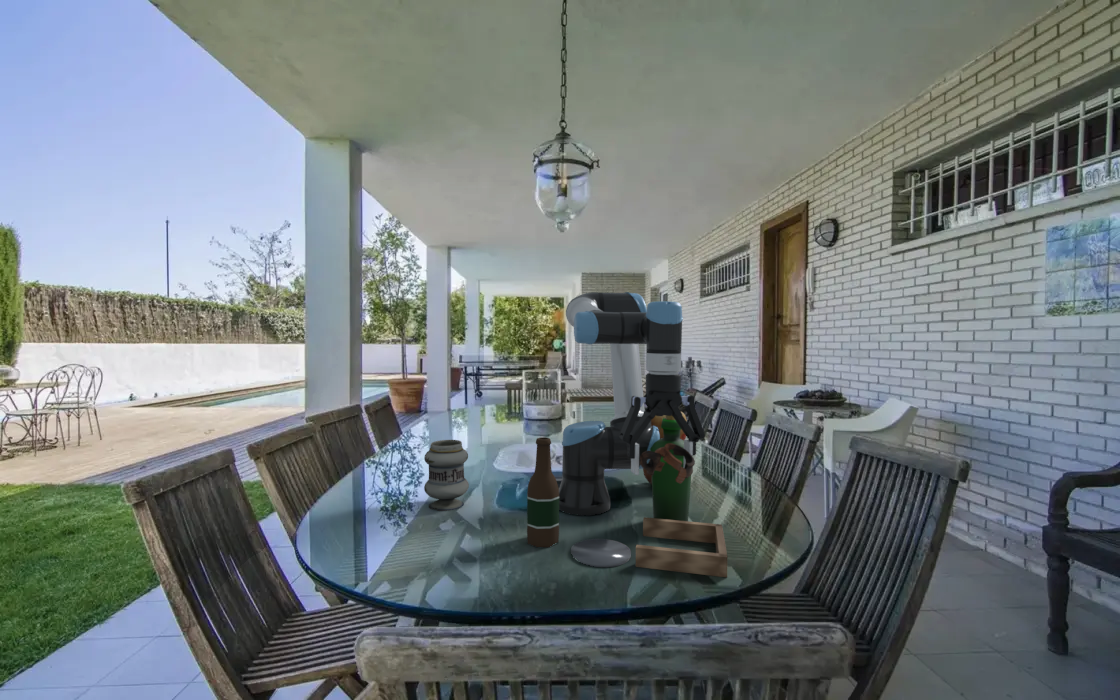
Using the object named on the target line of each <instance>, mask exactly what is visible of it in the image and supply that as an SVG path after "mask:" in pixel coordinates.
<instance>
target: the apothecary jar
mask: <svg viewBox="0 0 1120 700" xmlns="http://www.w3.org/2000/svg"><path fill="white" fill-rule="evenodd" d="M429 447H430V448H429V450H428V451H427V452H426V453H425V454H424V460H423V461H425V463H426V464H427V465H428V480H427V481H425V484H424V488H423V490H424V492H425V494H426V495H427V496H428V497H430V498H432V499H435V501H432V502H430V504H428V508H429V509H430V510H435V511H437V512H451V511H455V510H459V509H461V508H463V506H464V505H465V502H463V501H462V500H459V499H457V498H459V497H462V496H463V495H465V494H466V493H467V492H468V490H469V488H470V484H469V481H468V480H467V478H465V466H464V465H465V463H466V462H467V460H468V458H469V454H468V451H467V450H465V449H464V448H463V447H464V446H463V442H462V441H461V440H457V439H442V440H437V441H435V440H434V441H432V442H431V443H430V445H429Z"/></svg>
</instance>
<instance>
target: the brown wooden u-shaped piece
mask: <svg viewBox="0 0 1120 700" xmlns="http://www.w3.org/2000/svg"><path fill="white" fill-rule="evenodd" d="M642 521H643V522H642V536H643V537H649V538H658V539H670V540H678V541H688V542H699V543H705V544H706V543H708V544H715V552H708V551H699V550H690V549H682V548H679V549H678V548H672V547H663V546H662V547H661V546H653V545H644V544H636V546H635V567H636V568H643V569H652V570H660V571H661V570H662V571H670V572H677V573H688V574H694V575H695V574H696V575H703V576H704V575H705V576H712V577H720V578H728V554H727V553H728V552H727V545H726V540H725V533H724V529H723V524H722V523H721V524H719V523H710V522H701V521H700V522H697V521H689V520H688V521H679V520H668V519H657V518H653V517H645V516H644V517H643V519H642Z"/></svg>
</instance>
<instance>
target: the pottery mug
mask: <svg viewBox="0 0 1120 700" xmlns="http://www.w3.org/2000/svg"><path fill="white" fill-rule="evenodd" d="M671 449H672V450H673V451H674V453H673V454H674V455H679V456H684V457H685V460H686V464H685V467H684V468H683V467H681V465H682V461H680V460H678V459H677V458H675V457H674V456H673V455H672V454H671V452H670V451H669V450H671ZM661 456H663V457H664V458H663V460H664V461H666V462H667V463H668V464H669V465H671V466H672V467H673V468H675V469H676V470H678V471H679V472H678V476H677V477H676V479H675V480H676V482H678V483H682V482H683V481H684V480H685V478H688V477H690V476H691V477H692V475H693V472H694V468H693V467H694V466H695V464H696V463H695V462H696V461H695V458H694V456H693V457H692V455H691V454H690V453H689V452H688V451H687V450H685V449H684V448H682V447H680V446H678V445H676V444H672V443H668V444H666V445H665V447H662V448H659V449H657V450H656V451H655V452H653V451H645V452H643V453H642V455H641V456H640V464H641V466H642V467H643V469H645V470H647V473H646V474H647V475H654V471H655V470H656V471H660V472H661V470H662V467H663V466H664V464H665V463H663V462H660V460H661ZM648 459H650V460H649V463H648V464H647V460H648ZM643 469H642V470H643Z"/></svg>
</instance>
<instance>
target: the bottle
mask: <svg viewBox="0 0 1120 700" xmlns="http://www.w3.org/2000/svg"><path fill="white" fill-rule="evenodd" d="M661 428H663V435H664V438H661V439H659V440H658V441H656V442H655V443H654V444H653V445H652V447H651V448H650V451H653V452H655V451H656V450H657V449H659V448H662V447H665V445H666V444H668V443H672V444H676V445H678V446H680V447H682V448H684V440H682V439H680V430H681V428H680V426H679V425H678V423H677V422H676V420H675V419H674V417H673V416H672V415H671V416H666V418H663V419H662V424H661ZM669 451H670V452H671V454H672V455H673V456H674V457H675V458H677V459H678V460H680V461H682V465H681V467H683V468H684V456H679V455H674V454H673V453H674V451H673V450H672V449H671V450H669ZM663 458H664V457H663V456H661V460H660V462H663V463H665V464H664V466H663V467H662V470H661V472H660V471H656V470H655V471H654V475H652V485H651V489H652V490H651V492H652V514H653V517H652V518H657V519H668V520H679V521H689V513H690V512H689V511H690V499H691V498H690V497H691V487H692V485H691V484H692V475H691V476H690V477H688V478H685V480H684V481H683V482H682V483H678V482H676V480H675V479H676V477H677V476H678V472H679V471H678V470H676V469H675V468H673V467H672V466H671V465H669V464H668V463H667V462H666V461H664V460H663Z"/></svg>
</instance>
